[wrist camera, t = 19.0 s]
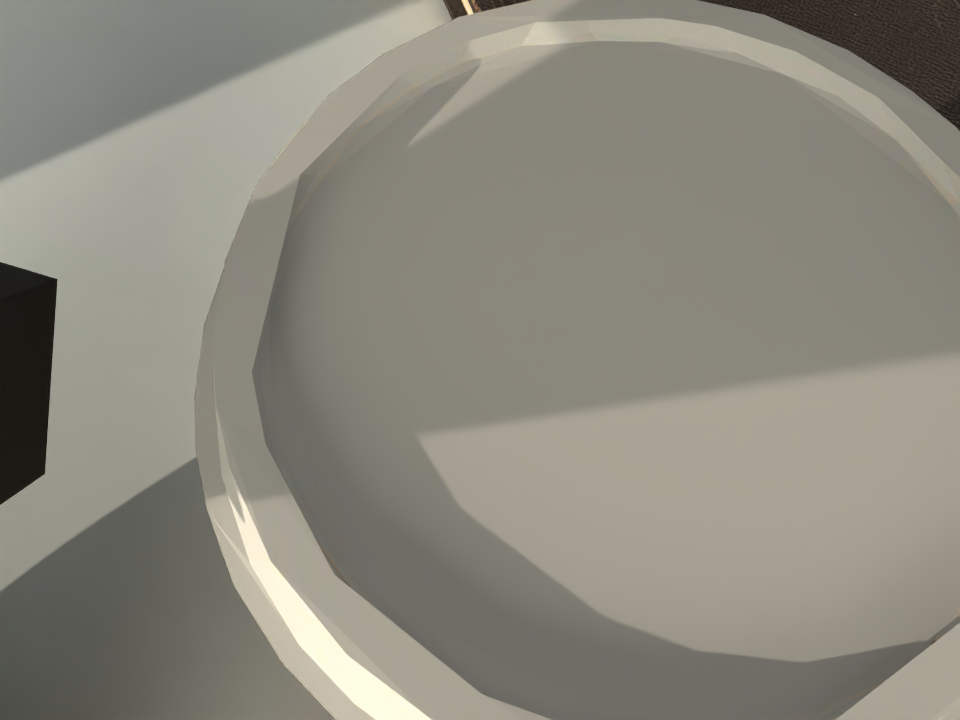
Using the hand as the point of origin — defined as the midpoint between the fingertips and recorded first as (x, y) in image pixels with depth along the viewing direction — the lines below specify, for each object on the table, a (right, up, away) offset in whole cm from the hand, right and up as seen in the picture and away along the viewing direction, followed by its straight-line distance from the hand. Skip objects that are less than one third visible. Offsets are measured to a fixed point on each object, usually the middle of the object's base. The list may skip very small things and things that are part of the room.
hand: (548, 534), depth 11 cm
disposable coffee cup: (+1, -3, +9) cm, 10 cm away
